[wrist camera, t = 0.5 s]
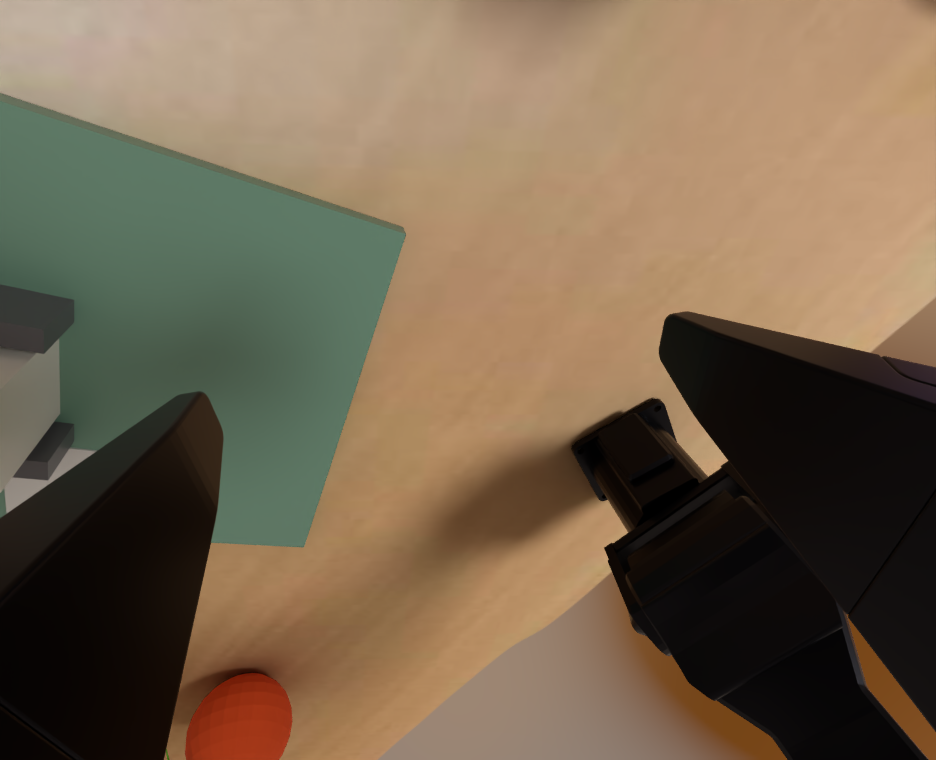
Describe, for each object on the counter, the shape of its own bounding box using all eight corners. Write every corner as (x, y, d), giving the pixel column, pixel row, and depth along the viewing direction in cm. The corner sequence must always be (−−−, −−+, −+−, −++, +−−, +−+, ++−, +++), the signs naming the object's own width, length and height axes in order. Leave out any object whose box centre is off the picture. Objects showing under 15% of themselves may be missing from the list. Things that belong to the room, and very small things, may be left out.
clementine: (173, 704, 37) (144, 824, 31) (191, 653, 34) (163, 775, 28) (281, 700, 40) (273, 808, 34) (306, 654, 37) (302, 763, 31)
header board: (403, 227, 21) (414, 254, 18) (304, 534, 30) (302, 583, 27) (-166, 37, 14) (-291, 33, 11) (-73, 510, 23) (-129, 574, 20)
